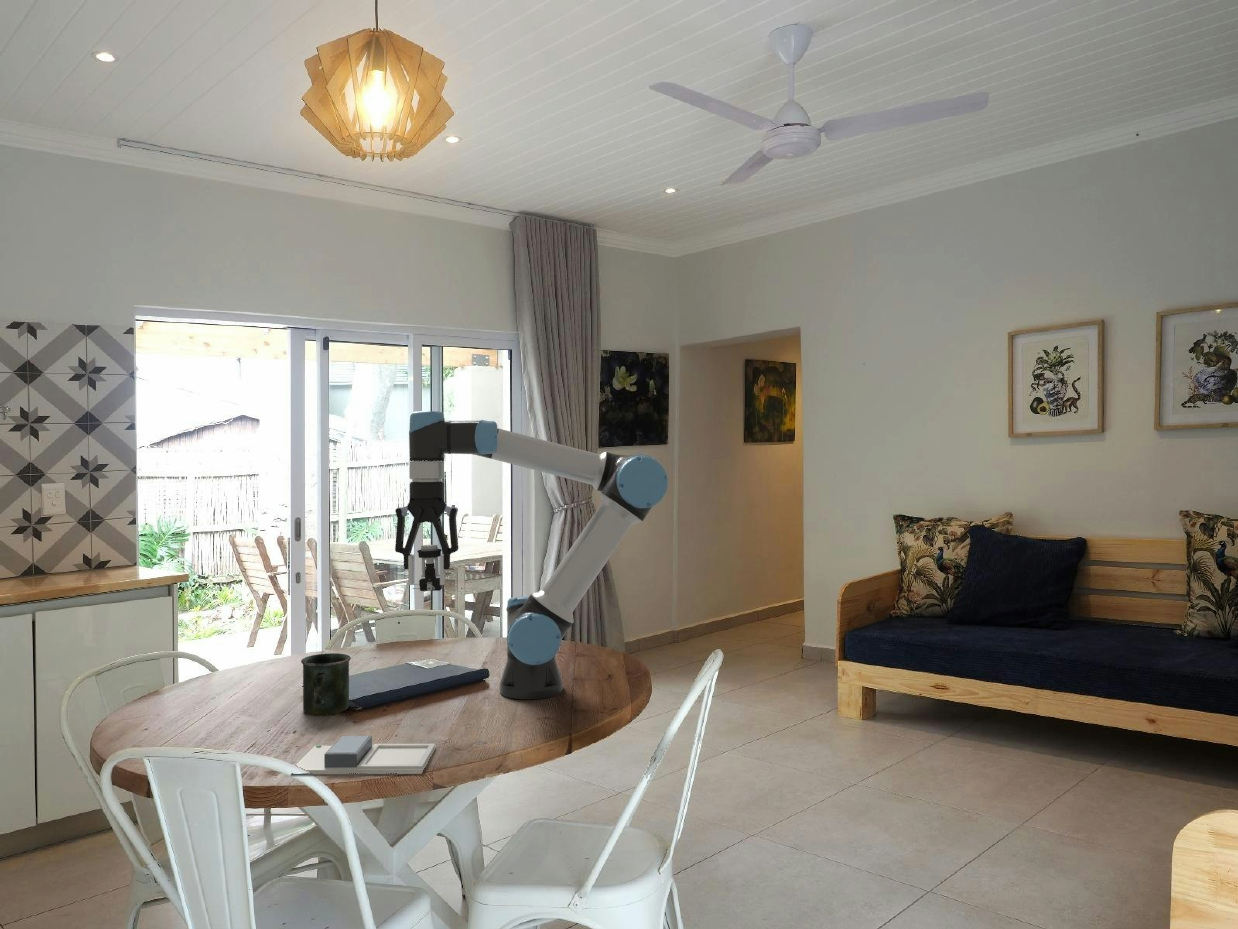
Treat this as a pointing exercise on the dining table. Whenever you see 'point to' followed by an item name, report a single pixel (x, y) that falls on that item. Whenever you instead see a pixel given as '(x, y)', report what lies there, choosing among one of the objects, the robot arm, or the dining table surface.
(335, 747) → the blue-grey rectangular block
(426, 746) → the board
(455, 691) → the dining table surface
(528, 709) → the dining table surface
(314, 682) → the mug
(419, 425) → the robot arm
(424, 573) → the push button
